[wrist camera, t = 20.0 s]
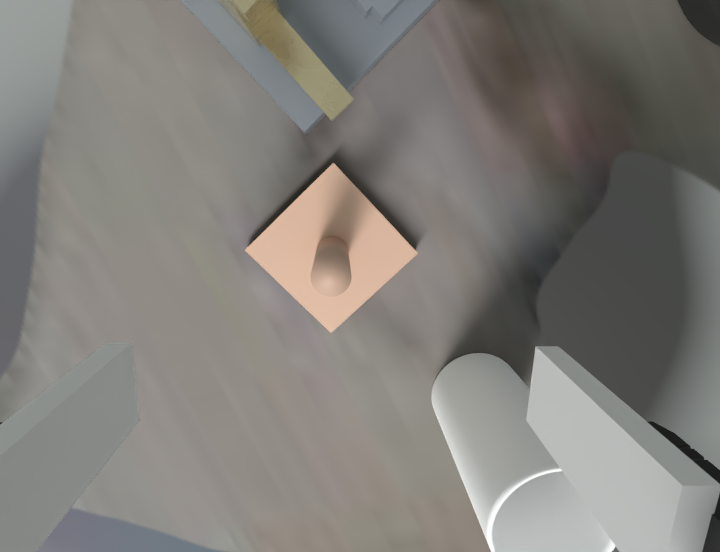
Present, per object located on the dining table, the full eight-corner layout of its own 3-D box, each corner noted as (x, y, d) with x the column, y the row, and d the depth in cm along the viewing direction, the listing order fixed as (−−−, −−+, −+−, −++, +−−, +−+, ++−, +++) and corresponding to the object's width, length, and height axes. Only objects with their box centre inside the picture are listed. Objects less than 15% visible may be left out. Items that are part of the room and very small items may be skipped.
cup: (515, 346, 41) (625, 456, 26) (520, 425, 43) (625, 572, 28) (426, 360, 41) (482, 480, 25) (436, 439, 43) (493, 594, 27)
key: (354, 102, 32) (363, 71, 22) (330, 125, 32) (327, 107, 22) (224, -48, 30) (162, -168, 19) (199, -21, 30) (124, -123, 19)
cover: (333, 162, 37) (332, 162, 27) (414, 249, 39) (441, 278, 29) (248, 246, 38) (217, 275, 28) (331, 326, 40) (329, 379, 30)
